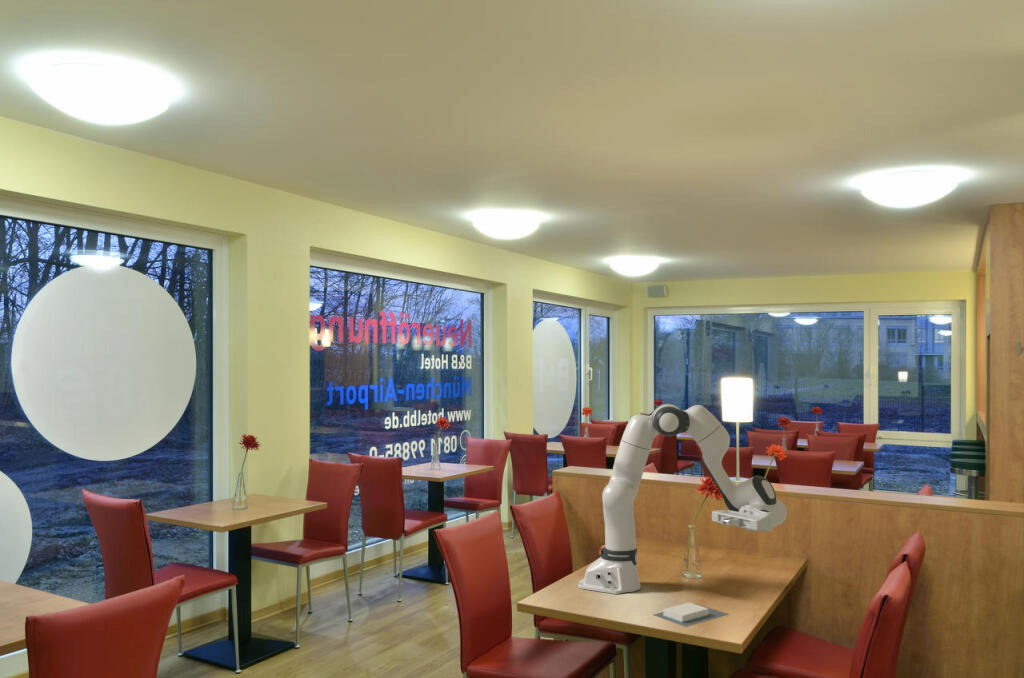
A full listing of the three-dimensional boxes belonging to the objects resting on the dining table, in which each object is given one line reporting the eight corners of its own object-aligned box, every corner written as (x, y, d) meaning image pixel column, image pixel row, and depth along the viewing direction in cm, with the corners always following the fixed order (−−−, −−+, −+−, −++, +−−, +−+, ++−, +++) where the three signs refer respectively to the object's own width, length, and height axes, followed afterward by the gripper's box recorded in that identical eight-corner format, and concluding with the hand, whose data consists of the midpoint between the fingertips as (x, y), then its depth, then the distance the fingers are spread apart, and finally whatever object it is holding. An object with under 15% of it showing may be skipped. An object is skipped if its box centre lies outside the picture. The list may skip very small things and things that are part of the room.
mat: (695, 605, 254) (695, 603, 254) (729, 616, 242) (729, 614, 242) (652, 616, 242) (652, 614, 242) (685, 628, 231) (685, 626, 231)
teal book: (689, 602, 248) (663, 609, 241) (708, 608, 241) (682, 615, 234) (689, 609, 248) (663, 616, 241) (708, 615, 241) (682, 622, 234)
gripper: (726, 504, 270) (700, 508, 262) (776, 513, 253) (749, 517, 245) (727, 522, 270) (700, 526, 262) (776, 532, 253) (749, 537, 245)
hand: (724, 522), depth 253 cm, fingers closed
